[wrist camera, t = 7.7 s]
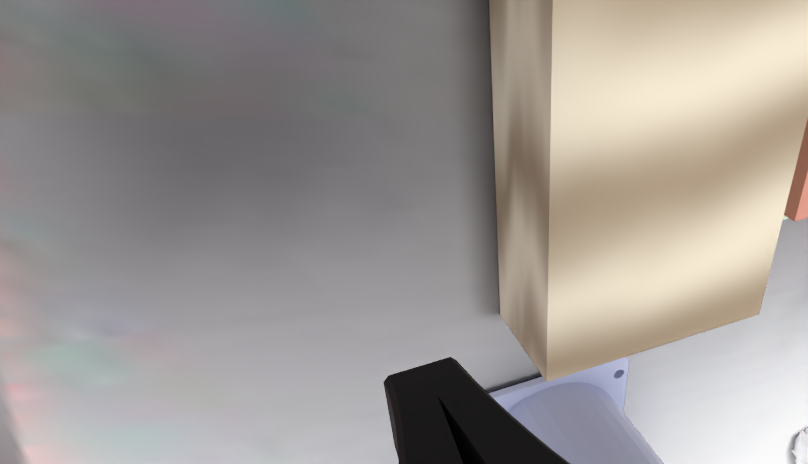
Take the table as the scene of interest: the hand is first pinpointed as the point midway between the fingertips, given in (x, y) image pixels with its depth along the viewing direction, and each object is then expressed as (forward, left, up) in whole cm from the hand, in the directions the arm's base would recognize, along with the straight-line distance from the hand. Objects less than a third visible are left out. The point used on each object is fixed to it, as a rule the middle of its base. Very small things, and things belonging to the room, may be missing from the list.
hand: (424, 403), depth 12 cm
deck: (-1, -11, -10) cm, 15 cm away
